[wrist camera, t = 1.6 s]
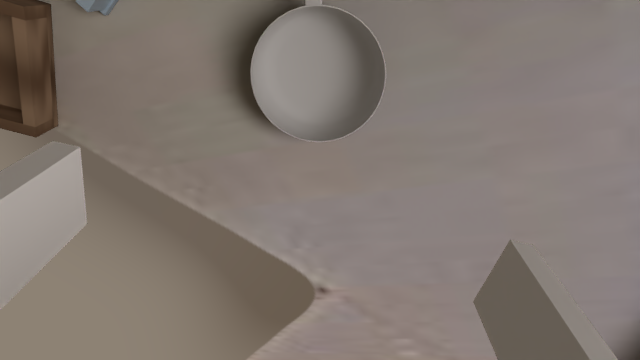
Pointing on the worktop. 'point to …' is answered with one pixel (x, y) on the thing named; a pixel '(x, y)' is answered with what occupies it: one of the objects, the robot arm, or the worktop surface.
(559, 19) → the worktop surface
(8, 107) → the wooden tray
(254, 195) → the worktop surface
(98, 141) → the worktop surface
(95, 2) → the clip
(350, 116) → the saucepan
